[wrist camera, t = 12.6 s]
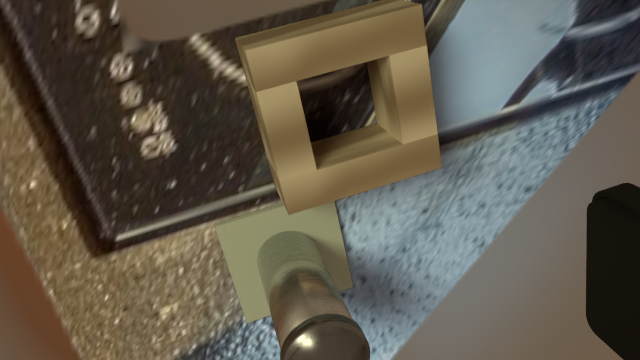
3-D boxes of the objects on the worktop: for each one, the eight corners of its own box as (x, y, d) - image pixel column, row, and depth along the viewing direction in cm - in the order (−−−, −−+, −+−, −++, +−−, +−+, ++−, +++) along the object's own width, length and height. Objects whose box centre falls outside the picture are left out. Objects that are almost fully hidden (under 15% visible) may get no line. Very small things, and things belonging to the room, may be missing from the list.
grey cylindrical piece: (246, 240, 42) (274, 341, 31) (313, 220, 43) (362, 312, 32) (263, 295, 44) (294, 408, 33) (326, 275, 45) (376, 379, 34)
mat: (214, 223, 41) (215, 226, 41) (330, 188, 43) (332, 190, 42) (246, 319, 45) (246, 323, 45) (351, 284, 46) (353, 287, 46)
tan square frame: (235, 38, 37) (245, 50, 32) (391, -3, 38) (421, 4, 34) (274, 186, 41) (288, 215, 37) (412, 144, 43) (441, 167, 38)
